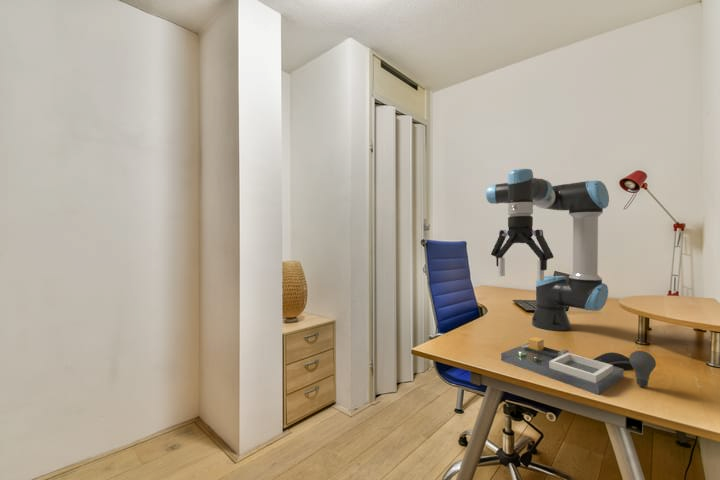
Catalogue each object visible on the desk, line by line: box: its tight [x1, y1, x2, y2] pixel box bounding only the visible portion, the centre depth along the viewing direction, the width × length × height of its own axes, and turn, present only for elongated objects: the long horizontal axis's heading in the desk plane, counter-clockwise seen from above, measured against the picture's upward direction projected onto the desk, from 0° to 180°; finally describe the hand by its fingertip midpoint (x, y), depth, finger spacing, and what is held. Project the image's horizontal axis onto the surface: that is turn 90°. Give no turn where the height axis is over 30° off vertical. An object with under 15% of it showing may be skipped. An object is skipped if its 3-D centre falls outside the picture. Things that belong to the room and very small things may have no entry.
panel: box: [500, 342, 625, 396], centre depth 101 cm, size 18×28×4 cm, turn 34°
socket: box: [549, 352, 613, 383], centre depth 94 cm, size 12×12×2 cm
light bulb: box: [628, 350, 657, 388], centre depth 88 cm, size 6×6×10 cm
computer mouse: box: [592, 351, 634, 371], centre depth 103 cm, size 7×12×4 cm, turn 89°
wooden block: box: [528, 336, 545, 351], centre depth 110 cm, size 4×3×4 cm
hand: (520, 278), depth 108 cm, fingers open, 13 cm apart
